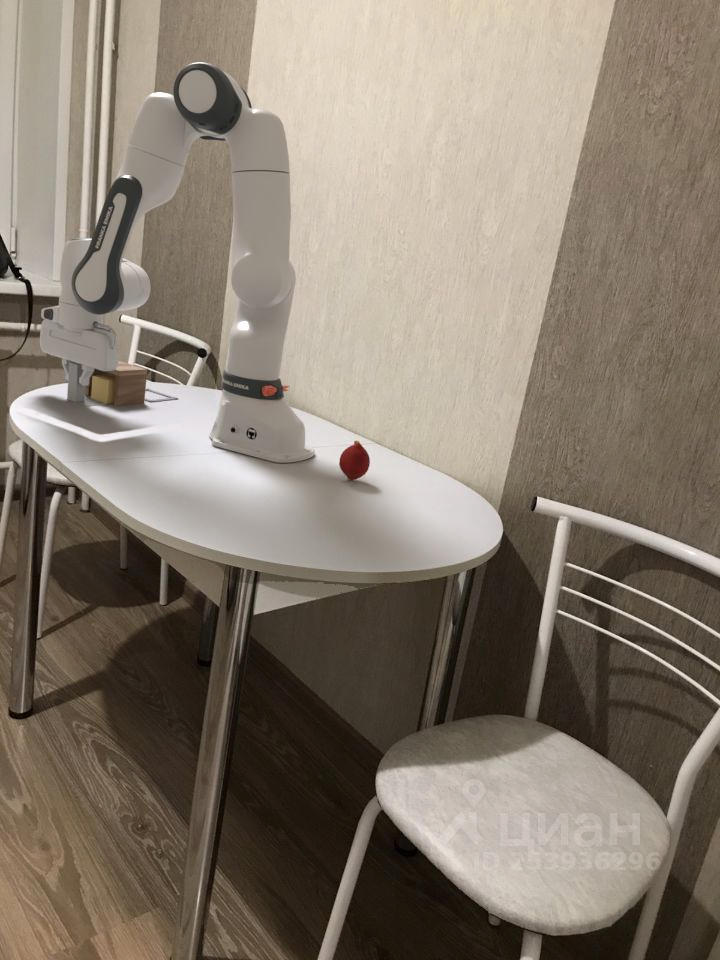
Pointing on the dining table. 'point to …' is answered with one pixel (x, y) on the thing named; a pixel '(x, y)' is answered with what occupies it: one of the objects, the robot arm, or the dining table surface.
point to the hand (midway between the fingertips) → (76, 382)
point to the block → (103, 388)
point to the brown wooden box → (125, 384)
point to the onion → (354, 461)
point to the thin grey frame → (160, 394)
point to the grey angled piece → (79, 387)
